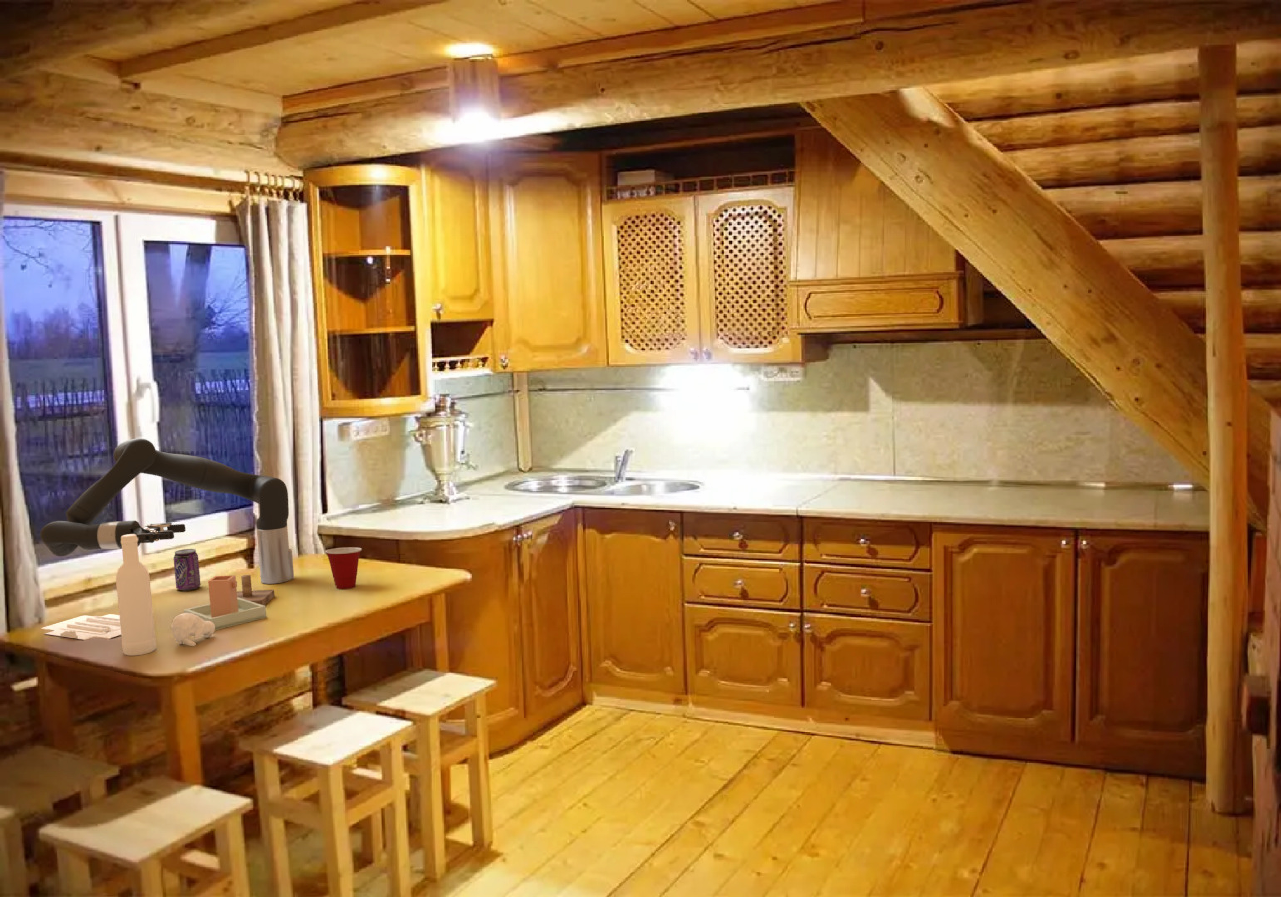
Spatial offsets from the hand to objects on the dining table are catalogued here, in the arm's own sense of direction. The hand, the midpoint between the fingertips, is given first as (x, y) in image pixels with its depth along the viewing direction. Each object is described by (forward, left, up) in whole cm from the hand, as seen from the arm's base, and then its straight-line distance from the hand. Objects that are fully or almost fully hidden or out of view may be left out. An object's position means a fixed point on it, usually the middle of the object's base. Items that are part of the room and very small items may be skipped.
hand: (179, 531), depth 309 cm
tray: (-7, +7, -25) cm, 28 cm away
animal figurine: (+8, +21, -26) cm, 34 cm away
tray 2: (+18, -16, -26) cm, 36 cm away
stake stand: (-20, -5, -25) cm, 33 cm away
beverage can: (-17, -37, -26) cm, 48 cm away
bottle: (+21, +17, -26) cm, 37 cm away
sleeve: (-7, +7, -25) cm, 27 cm away
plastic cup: (-48, +3, -26) cm, 55 cm away
